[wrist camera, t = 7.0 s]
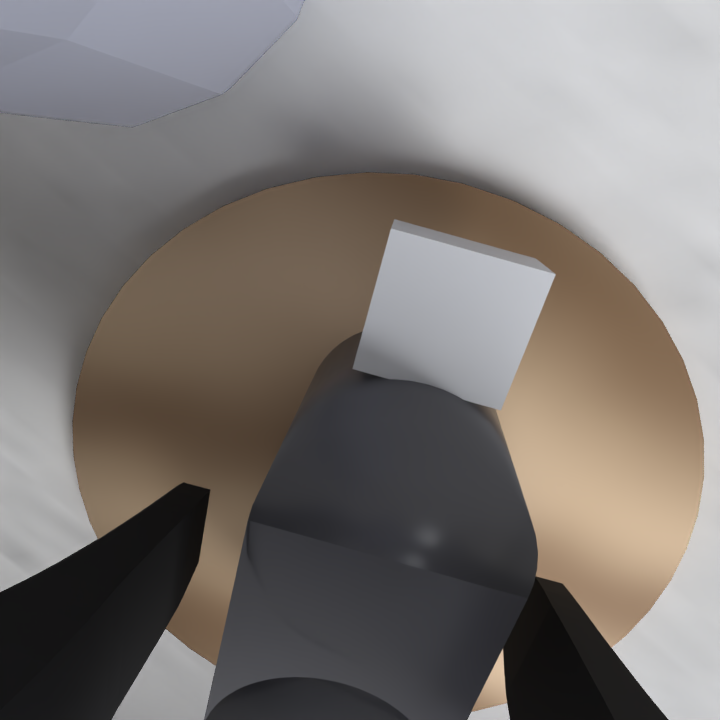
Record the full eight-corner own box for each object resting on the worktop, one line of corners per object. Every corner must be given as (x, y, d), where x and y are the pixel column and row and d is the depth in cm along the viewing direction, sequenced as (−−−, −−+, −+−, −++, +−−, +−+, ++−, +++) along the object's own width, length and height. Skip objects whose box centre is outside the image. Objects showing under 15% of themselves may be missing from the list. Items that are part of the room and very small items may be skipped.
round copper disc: (548, 745, 17) (554, 771, 16) (78, 618, 17) (63, 639, 16) (820, 277, 11) (849, 285, 11) (107, 90, 11) (86, 85, 11)
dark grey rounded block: (402, 646, 15) (396, 859, 11) (256, 605, 15) (186, 801, 11) (559, 255, 11) (665, 324, 6) (356, 198, 11) (312, 225, 6)
